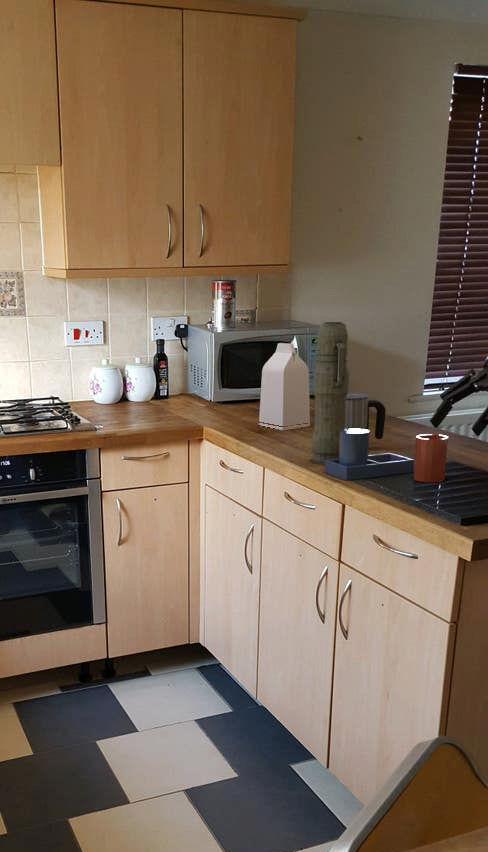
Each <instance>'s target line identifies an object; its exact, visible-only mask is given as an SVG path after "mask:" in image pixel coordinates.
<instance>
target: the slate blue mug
mask: <svg viewBox="0 0 488 852" xmlns="http://www.w3.org/2000/svg"><path fill="white" fill-rule="evenodd" d="M369 448H370V429H369V430H365V429H343V430H340V438H339V464H341V465H344V466H347V467H351V466H359V465H368V455H369V450H370V449H369Z"/></svg>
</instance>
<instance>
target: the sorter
mask: <svg viewBox="0 0 488 852" xmlns="http://www.w3.org/2000/svg"><path fill="white" fill-rule="evenodd" d="M414 463H415V458H414V459H413V458H409V457H407V456H402V455H399V454H397V453H393V452H385V453H376V454H368V465H359V466H351V467H347V466H344V465H341V464H339V459H333V460H325V464H324V473H325V474H328V475H330V476H334V477H336V478H339V479H341V480H343V481H352V480H353V481H354V480H362V479H368V478H377V477H384V476H393V475H401V474H409V473H414Z"/></svg>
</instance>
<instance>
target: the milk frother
mask: <svg viewBox="0 0 488 852" xmlns="http://www.w3.org/2000/svg"><path fill="white" fill-rule="evenodd" d="M369 397H370V395H369V394H366V393H348V394H347V396H346V421H345V429H365V430H369V431H370V428H369V427H370V408H375V411H376V416H375V427H374V437H375V439H377V440H381V439H383V437H384V433H385V432H384V430H385V423H386V412H387V410H386V406H385V405H384V403H383V402H381V401H380V400H378V399H374V398H373V399H369Z"/></svg>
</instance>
